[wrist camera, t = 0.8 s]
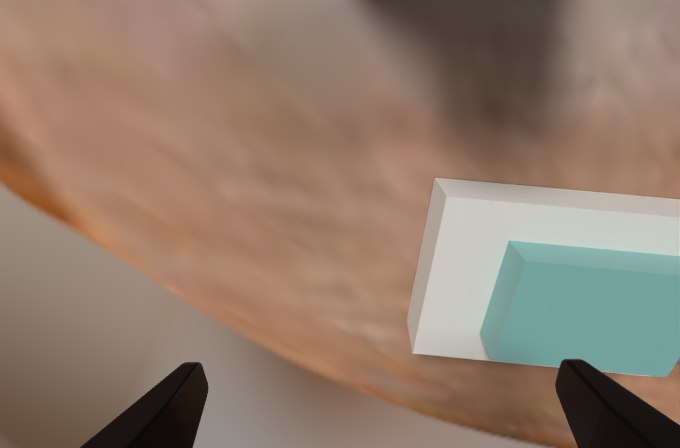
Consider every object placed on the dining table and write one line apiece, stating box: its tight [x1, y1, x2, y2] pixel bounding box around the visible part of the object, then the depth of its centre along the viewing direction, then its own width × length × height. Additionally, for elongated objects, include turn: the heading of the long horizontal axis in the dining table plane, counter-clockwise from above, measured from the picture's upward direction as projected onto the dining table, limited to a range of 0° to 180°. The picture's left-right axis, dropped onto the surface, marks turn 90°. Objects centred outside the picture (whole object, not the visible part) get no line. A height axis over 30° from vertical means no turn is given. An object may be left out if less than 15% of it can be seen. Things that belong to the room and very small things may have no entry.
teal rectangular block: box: [480, 240, 680, 377], centre depth 18 cm, size 9×6×2 cm, turn 86°
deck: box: [407, 178, 680, 377], centre depth 20 cm, size 14×10×3 cm
